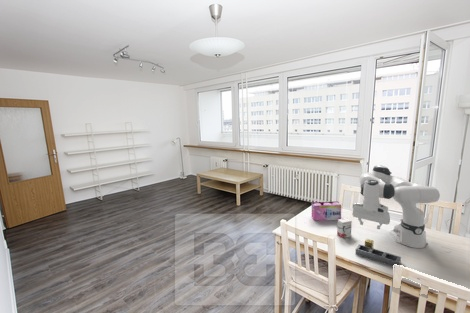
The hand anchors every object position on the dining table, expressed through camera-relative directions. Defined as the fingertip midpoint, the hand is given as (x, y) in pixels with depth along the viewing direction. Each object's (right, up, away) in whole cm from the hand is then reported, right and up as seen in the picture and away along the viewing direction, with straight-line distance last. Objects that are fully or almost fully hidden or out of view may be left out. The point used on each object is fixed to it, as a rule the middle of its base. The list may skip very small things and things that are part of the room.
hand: (369, 226), depth 141 cm
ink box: (-6, -13, +21) cm, 26 cm away
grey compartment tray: (0, -17, -7) cm, 18 cm away
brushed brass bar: (+1, -16, +2) cm, 16 cm away
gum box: (-7, -9, +50) cm, 51 cm away
